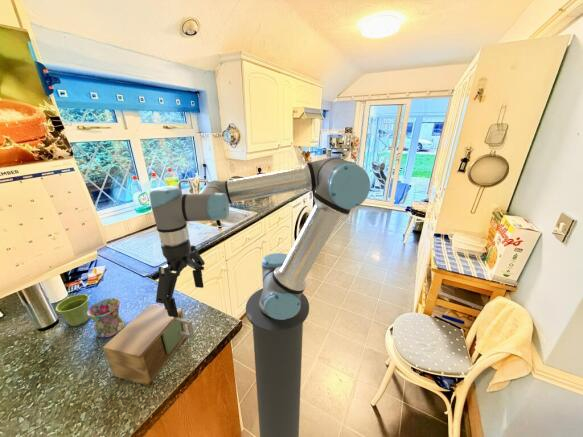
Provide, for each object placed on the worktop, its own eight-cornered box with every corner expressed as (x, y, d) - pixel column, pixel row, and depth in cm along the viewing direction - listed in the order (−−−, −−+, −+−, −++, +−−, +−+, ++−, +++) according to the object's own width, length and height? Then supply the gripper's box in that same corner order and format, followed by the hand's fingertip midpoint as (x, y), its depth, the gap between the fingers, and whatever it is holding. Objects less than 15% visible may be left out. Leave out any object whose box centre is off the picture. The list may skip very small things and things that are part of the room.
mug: (103, 322, 89) (94, 300, 85) (130, 318, 92) (123, 296, 88) (86, 349, 79) (76, 325, 75) (118, 343, 81) (109, 320, 77)
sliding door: (197, 338, 81) (193, 317, 78) (184, 357, 75) (179, 335, 71) (181, 335, 83) (176, 314, 79) (166, 353, 76) (160, 331, 72)
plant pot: (56, 330, 86) (47, 311, 82) (77, 311, 94) (70, 294, 91) (82, 329, 86) (75, 311, 83) (101, 311, 95) (95, 293, 92)
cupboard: (187, 335, 84) (181, 309, 80) (148, 385, 68) (139, 356, 63) (157, 329, 87) (151, 303, 82) (113, 376, 70) (102, 347, 66)
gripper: (189, 223, 79) (199, 275, 87) (127, 262, 56) (147, 329, 64) (209, 224, 78) (217, 278, 85) (154, 266, 55) (171, 333, 63)
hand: (187, 300), depth 75 cm, fingers open, 13 cm apart
